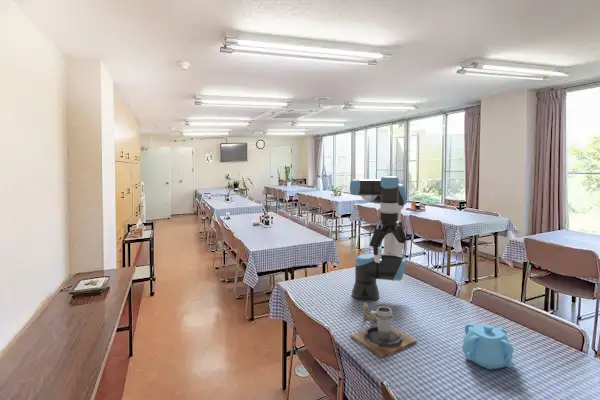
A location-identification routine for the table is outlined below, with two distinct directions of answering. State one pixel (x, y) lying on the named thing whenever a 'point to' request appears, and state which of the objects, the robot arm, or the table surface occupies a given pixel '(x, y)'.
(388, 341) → the ring holder
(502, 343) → the decorative pot
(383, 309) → the cup
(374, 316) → the bone
